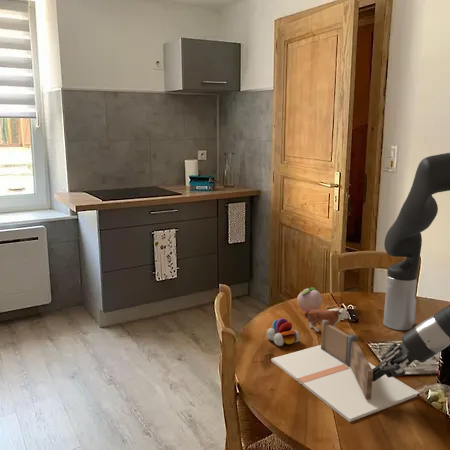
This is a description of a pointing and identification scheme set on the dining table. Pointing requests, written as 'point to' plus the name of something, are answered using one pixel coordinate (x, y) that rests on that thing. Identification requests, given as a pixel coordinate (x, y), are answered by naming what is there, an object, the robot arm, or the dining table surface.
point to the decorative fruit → (309, 299)
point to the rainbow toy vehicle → (282, 333)
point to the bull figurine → (325, 316)
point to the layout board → (340, 376)
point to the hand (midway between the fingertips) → (370, 377)
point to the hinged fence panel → (361, 370)
